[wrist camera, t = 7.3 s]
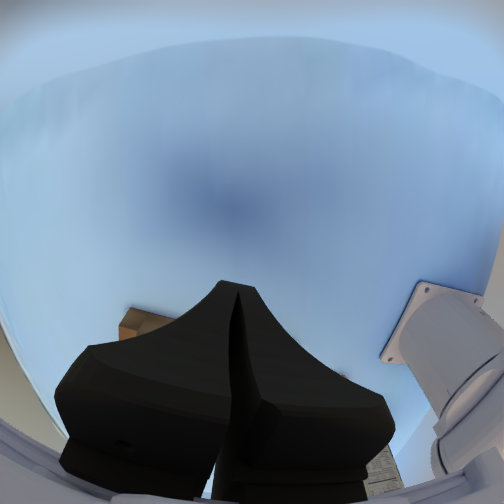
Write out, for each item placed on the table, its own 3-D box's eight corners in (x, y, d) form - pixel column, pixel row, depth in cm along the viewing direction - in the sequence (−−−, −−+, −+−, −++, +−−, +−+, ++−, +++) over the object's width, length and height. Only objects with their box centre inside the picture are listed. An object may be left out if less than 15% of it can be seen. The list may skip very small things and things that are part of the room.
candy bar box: (342, 459, 29) (363, 558, 14) (308, 462, 29) (322, 567, 13) (380, 412, 25) (423, 534, 10) (340, 414, 25) (374, 552, 10)
